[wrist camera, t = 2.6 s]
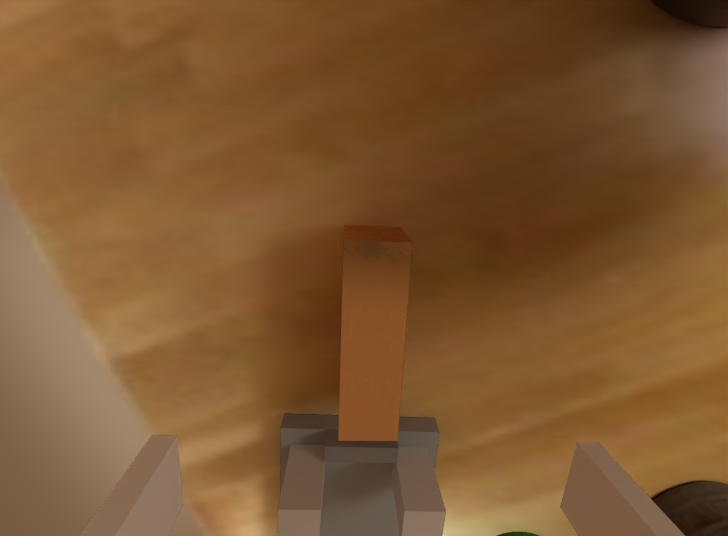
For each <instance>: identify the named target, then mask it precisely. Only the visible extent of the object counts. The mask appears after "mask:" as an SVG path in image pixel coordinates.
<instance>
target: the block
mask: <svg viewBox="0 0 728 536" xmlns="http://www.w3.org/2000/svg"><path fill="white" fill-rule="evenodd" d="M412 245H413V242H412V241H411V240H410V239H409V238H408V236H407V235H406V234H405V233H404V232H403V231H402V229H401V228H400V227H379V226H349V225H344V239H343V276H342V316H341V355H340V395H339V435H338V441H397V439H398V426H399V414H400V401H401V388H402V375H403V362H404V349H405V336H406V323H407V310H408V297H409V284H410V271H411V258H412Z"/></svg>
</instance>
